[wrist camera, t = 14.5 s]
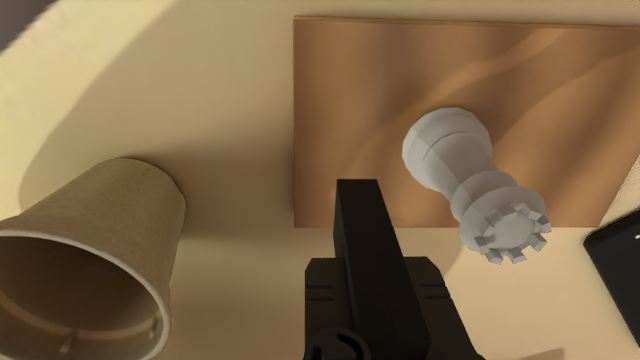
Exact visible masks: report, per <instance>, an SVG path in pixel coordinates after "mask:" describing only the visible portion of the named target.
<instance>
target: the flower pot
mask: <svg viewBox="0 0 640 360" xmlns="http://www.w3.org/2000/svg"><path fill="white" fill-rule="evenodd" d="M185 215H186V202H185V198H184V196H183V195H182V194H181V192H180V191H179V189H178V188H177V186H176V185H175V183H174V182H173V180H172V179H171V177H170V176H169V175H167V174H166V173H165V172H164V171H162V170H160V169H159V168H157V167H155V166H153V165H151V164H148V163H146V162H143V161H139V160H134V159H127V158H117V159H113V160H109V161H105V162H102V163H99V164H97V165H95V166H93V167H92V168H90V169H89V170H88V171H86V172H85V173H83V174H81V175H80V176H78V177H77V178H75V179H74V180H72V181H71V182H69V183H68V184H66V185H65V186H63V187H62V188H60V189H59V190H57V191H55V192H54V193H52V194H51V195H49V196H48V197H46V198H44V199H43V200H41V201H40V202H38V203H37V204H35V205H33V206H32V207H30V208H29V209H27V210H26V211H24V212H22V213H21V214H19V215H18V216H14V217H11V218H7V219H4V220H2V221H0V359H2V360H151V359H152V358H154V357H155V356H156V355H157V354H158V353H159V352H160V351H161V350H162V349H163V347H164V346H165V344H166V342H167V340H168V338H169V335H170V331H171V326H172V315H171V310H170V306H169V303H170V289H169V282H170V278H171V273H172V269H173V264H174V260H175V255H176V251H177V246H178V242H179V238H180V234H181V230H182V226H183V222H184V219H185Z"/></svg>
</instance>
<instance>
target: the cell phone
mask: <svg viewBox="0 0 640 360" xmlns="http://www.w3.org/2000/svg"><path fill="white" fill-rule="evenodd" d="M583 245H584V247H585V249H586V251H587V252H588V254H589V256H590V258H591V260H592V261H593V263H594V265H595V267H596V269H597V271H598V272H599V274H600V276H601V278H602V280H603V282H604V283H605V285H606V287H607V289H608V291H609V293H610V294H611V296H612V298H613V300H614V302H615V304H616V305H617V307H618V309H619V311H620V313H621V315H622V316H623V318H624V320H625V322H626V324H627V326H628V327H629V329H630V331H631V333H632V335H633V336H634V338H635V340H636V342H637V344H638V346H639V348H640V211H639V212H637V213H635V214H633V215H631V216H629V217H627V218H625V219H623V220H621V221H619V222H617V223H615V224H613V225H611V226H609V227H607V228H605V229H603V230H601V231H599V232H597V233H595V234H593V235H591V236H590V237H588V238H587V239H585V241H584V243H583Z"/></svg>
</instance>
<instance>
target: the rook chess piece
mask: <svg viewBox="0 0 640 360" xmlns="http://www.w3.org/2000/svg"><path fill="white" fill-rule="evenodd" d="M402 158H403V160H404V163H405V166H406V168H407V169H408V170H409V171H410V172H411V175H412V177H414V178H415V179H416V180H417V181H418V182H419V183H420V184H422V185H423V186H424V187H426V188H429V189H433V190H435V191H438V192H441V193H442V194H443V195H444V196H445V197H446V198H447V199H448V200H449V201H450V203H451V205H450V208H451V211H452V214H453V217H454V218H456V219H457V220H458V221H459V222H460V225H459V230H458V232H459V235H460V238H461V241H462V243H463V244H464V245H465V246H467V247H468V248H469V249H470V250H471V251H475V252H479V253H481V255H484V254H485V256H486V257H487V259H488V261H489V262H492V263H495V264H499V265H500V264H501V263H502V261H503V258H502V256H505V255H507V256H508V257H509V259H510V260H511V261H512V263H513V264H515V263H518V262H521V261H524V260H527V259H526V257H525V256H524V254H523V253H522V252H521V250H522V249H524V248H526V247H527V246H529V245H530V246H531V247H532V248H533V249H534V250H536V251H538V252H539V251H540V250H541V249H542V248H543V247H544V245H545V244H546V243H547V241H546V240H545V239H544V238H543V237H542V236H541V235H540V233H541V232H542V233H548V232H551V225H550V221H549V220H548V219H547V218H546V217H545V216H546V208H545V201H544V199H543V198H542V197H541V196H540V195H539V194H538V193H537V192H536V191H535V190H532V189H529V188H526V187H523V186H518V185H517V182H516V180H515V179H514V178H513V177H512V176H511V175H510V174H507V173H504V172H501V171H499V170H498V168H497V166H496V165H495V163H494V162H493V160H492V144H491V140H490V136H489V133H488V130H487V129H486V128H485V127H484V126H483V125H482V123H481V122H480V121H479V120H478V119H477V118H476V117H475V115H474V114H473V113H471V112H469V111H466V110H463V109H460V108H458V107H455V108H440V109H438V110H435V111H433V112H431V113H428V114H426V115H424V116H423V117H422V118H421V119H419V120H418V121H417V122H416V123H415V124H414V125H413V126H412V127H411V128H410V130H409V132H408V134H407V136H406V137H405V139H404V141H403V150H402Z"/></svg>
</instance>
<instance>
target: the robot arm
mask: <svg viewBox="0 0 640 360" xmlns="http://www.w3.org/2000/svg"><path fill="white" fill-rule="evenodd" d="M333 238H334V248H335V258H312V259H311V261H310V263H309V264H308V266H307V268H306V270H305V352H304V358H303V360H486V359H485V358H483V357H482V356H481V355H479V354H478V353H477V352H476V350H475V349H474V347H473V345H472V343H471V341H470V338H469V336H468V334H467V332H466V329H465V327H464V325H463V323H462V320H461V318H460V316H459V314H458V311H457V309H456V307H455V305H454V302H453V300H452V299H451V298H450V293H449V291H448V289H447V287H446V286H445V282H444V280H443V278H442V275H441V273H440V271H439V269H438V268H437V267H436V266H435V265H434V264H433V263H432V262H431V261H430V260H429V259H428V258H427V257H403V255H402V252H401V249H400V246H399V243H398V240H397V237H396V234H395V231H394V228H393V225H392V222H391V219H390V216H389V213H388V210H387V207H386V204H385V202H384V199H383V196H382V193H381V190H380V187H379V184H378V181H377V179H337V183H336V199H335V215H334V231H333Z"/></svg>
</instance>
